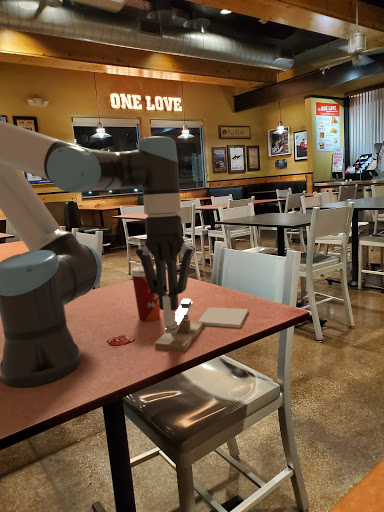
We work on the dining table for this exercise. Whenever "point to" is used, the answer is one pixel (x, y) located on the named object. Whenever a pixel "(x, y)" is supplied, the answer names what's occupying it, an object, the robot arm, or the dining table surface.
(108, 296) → the dining table surface
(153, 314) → the paper cup
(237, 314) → the tile
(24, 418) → the dining table surface
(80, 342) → the dining table surface
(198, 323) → the lever base
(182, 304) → the lever
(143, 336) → the dining table surface
